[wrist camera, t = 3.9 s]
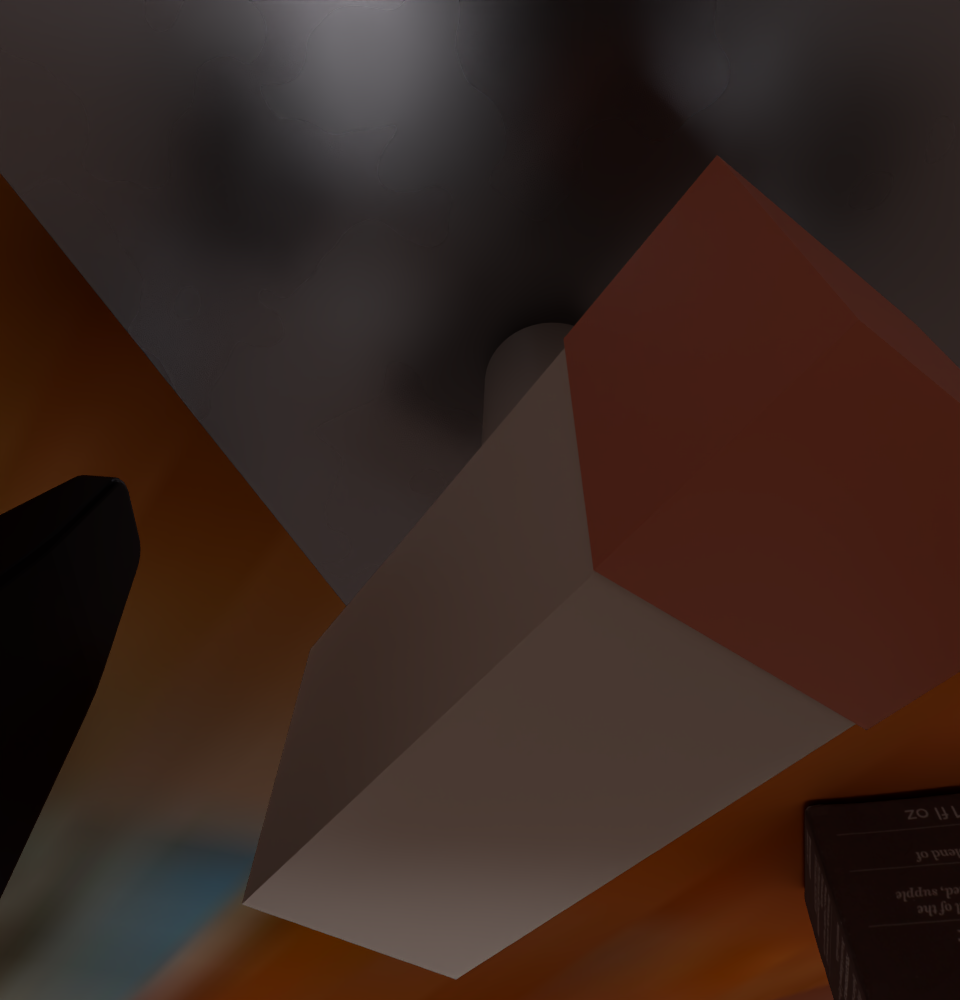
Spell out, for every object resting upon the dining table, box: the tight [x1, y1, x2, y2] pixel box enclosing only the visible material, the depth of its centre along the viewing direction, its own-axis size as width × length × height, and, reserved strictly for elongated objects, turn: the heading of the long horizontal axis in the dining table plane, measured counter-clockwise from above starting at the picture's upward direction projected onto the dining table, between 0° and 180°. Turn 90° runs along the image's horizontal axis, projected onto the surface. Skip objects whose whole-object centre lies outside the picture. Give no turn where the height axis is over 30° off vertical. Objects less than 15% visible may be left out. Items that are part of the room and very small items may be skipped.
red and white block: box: [242, 155, 960, 979], centre depth 9 cm, size 7×2×6 cm, turn 145°
